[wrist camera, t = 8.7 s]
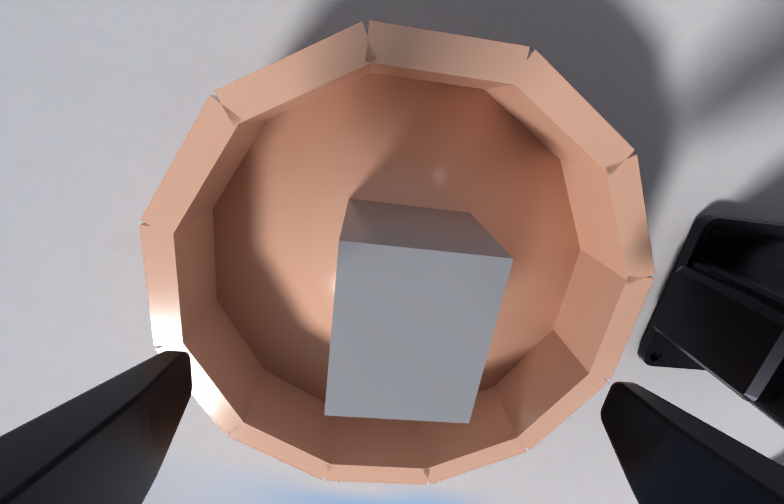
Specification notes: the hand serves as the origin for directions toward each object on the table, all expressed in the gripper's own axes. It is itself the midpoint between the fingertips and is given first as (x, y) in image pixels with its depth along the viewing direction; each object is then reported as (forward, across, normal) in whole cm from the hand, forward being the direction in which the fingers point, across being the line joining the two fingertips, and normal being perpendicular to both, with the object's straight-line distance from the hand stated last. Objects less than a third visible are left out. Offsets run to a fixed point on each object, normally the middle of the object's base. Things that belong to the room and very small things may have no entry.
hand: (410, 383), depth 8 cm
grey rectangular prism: (+6, 0, 0) cm, 6 cm away
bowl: (+6, 0, 0) cm, 7 cm away
